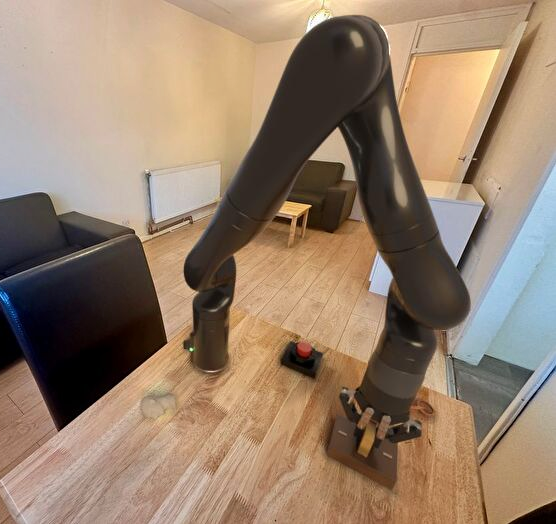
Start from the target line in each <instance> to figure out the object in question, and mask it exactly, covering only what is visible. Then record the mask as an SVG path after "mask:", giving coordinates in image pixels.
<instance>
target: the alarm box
mask: <svg viewBox="0 0 556 524" xmlns="http://www.w3.org/2000/svg"><path fill="white" fill-rule="evenodd" d="M300 342H301V341H298V342H297V341H296V342H294V341H292V340H290V341H289V343H288V344H287V346H286V348H285V351H284V353H283V355H282V356H281V359H280V365H281V366H284V367H286V368H287V369H290V370H293V371H295V372H297V373H299V374H302V375H304V376H307V377H309V378H311V379H314V380H315V379H316V376H317V374H318V372H319V368H320V366H321V362H322V360H323V357H324V352H321V351H318V350H316V349H315V347H313V346H312V345H311V344H309V345H310V346H311V348H312V349H311V354H310V355H309V356H308V357H303V356H301V355H299V354H298V353H297V351H296V350H297V345H298V343H300Z"/></svg>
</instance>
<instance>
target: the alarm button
mask: <svg viewBox="0 0 556 524" xmlns="http://www.w3.org/2000/svg"><path fill="white" fill-rule="evenodd" d="M299 342H300V343H298V345H297V350H296V351H297V353H298V354H299V355H301V356H303V357H308V356H309V355H310V354H311V349H312V348H311V346H312V345H311V344H309V343H307V342H306V341H305V342H304V341H299ZM310 345H311V346H310Z"/></svg>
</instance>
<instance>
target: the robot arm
mask: <svg viewBox="0 0 556 524" xmlns="http://www.w3.org/2000/svg"><path fill="white" fill-rule="evenodd" d="M390 50H391V47H390V41H389V37H388V34H387V32H386V29H384V27H383V26H382V25H381V24H380V22H378V21H377V20H375V19H374V18H372V17H370V16H367V15H364V14H345V15H338V16H332V17H330V18H327V19H324V20H323V21H320V22H319V23H318V24H316V25H314V26H313V27H312V28H311V29H309V30H308V31H307V32H306V33H305V34H304V35H303V36H302V37H301V39H300V40H299V41H298V42H297V43H296V46H295V47H294V49H293V50H292V52H291V54H290V56H289V57H288V60H287V62H286V64H285V67H284V69H283V71H282V74H281V76H280V79H279V81H278V84H277V85H276V86H277V87H276V89H275V91H274V94H273V97H272V99H271V102H270V104H269V106H268V108H267V110H266V113H265V116H264V119H263V121H262V123H261V126H260V127H259V130H258V132H257V134H256V136H255V138H254V140H253V141H252V143H251V145H250V146H249V148H248V150H247V152H246V153H245V155H244V156H243V158H242V160H241V161H240V164H239V165H238V167H237V169H236V171H235V173H234V174H233V176H232V177H231V179H230V181H229V183H228V184H227V187H226V188H225V190H224V192H223V194H222V196H221V197H220V200H219V203H218V205H217V207H216V209H215V211H214V213H213V215H212V216H211V218H210V220H209V221H208V223H207V225H206V227H205V229H204V231H203V232H202V234H201V236H200V237H199V239H198V240H197V241H196V243H195V244H194V245H193V247H192V248H191V249H190V250H189V252H188V254H187V256H186V257H185V259H184V263H183V279H184V281H185V283H186V285H187V286H188V287H189V289H191V290H192V291H194V292H197V293H196V294H195V295H194V297H193V298H192V303H191V305H192V306H191V307H192V330H191V332H190V333H189V338H188V339H185V340H184V341H183V343H182V347H183V350H188V351H189V355H190V359H189V360H190V362H192V363H193V365H194V368H195V369H196V370H197V371H199V372H201V373H203V374H207V375H215V374H219V373H221V372H223V371H224V370H225V369H226V368H227V366H228V363H229V362H228V361H229V360H230V357H229V337H230V320H231V319H230V318H231V317H230V315H231V307H232V304H233V302H234V298H235V292H236V291H235V290H236V283H237V261H236V259H235V254H236V253H238V252H239V251H241V250H243V249H244V248H245V247H247V246H248V245H249V244H251V243H252V242H253V241H254V240H256V239H257V238H258V237H259V236H260V235H261V234H263V232H264V231H266V229H267V227H269V225H270V224H271V223H272V221H273V220H274V219H275V217H276V216H277V215H278V214H279V212H280V211H281V209H282V208H283V206H284V204H285V203H286V201H287V199H288V197H289V195H290V193H291V191H292V190H293V187H294V185H295V183H296V180H297V178H298V176H299V174H300V173H301V171H302V170H303V168H304V167H305V165H306V164H307V162H308V161H309V160H310V159H311V158H312V156H313V155H314V154H315V153H316V152H317V151H318V149H319V148H320V147H321V146H322V145H323V144H324V143H325V141H326V140H327V139H328V138H329V137H330V136H331V135H332V134H333V132H334V131H336V129H338V130H339V132H340V134H341V137H342V139H343V141H344V143H345V145H346V148H347V151H348V154H349V156H350V160H351V165H352V169H353V174H354V180H355V185H356V189H357V190H356V191H357V196H358V202H359V207H360V210H361V213H362V217H363V220H364V222H365V226H366V228H367V230H368V233H369V234H370V237H371V240H372V242H373V244H374V246H375V248H376V251H377V253H378V254H379V256H380V258H381V260H382V262H384V264H385V265H386V267H387V269H389V271H390V273H391V276H392V278H391V280H390V283H389V286H388V290H387V295H386V302H385V310H384V311H385V312H384V324H383V328H382V330H381V332H380V334H379V338H378V340H377V343H376V346H375V348H374V350H373V351H372V353H371V354H370V357H369V359H368V361H367V366H366V368H365V371H364V373H363V377H362V380H361V382H360V385H359V386H358V387H356V388H355V389H354V390H350V389H349V388H348V386H342V387H341V389H340V391H339V395H338V399H339V401H340V404H341V406H342V408H343V411H344V413H345V417H346V418H348V420H349V421H351V422H355V423H356V427H355V430H354V436H355V437H356V440H357V441H358V442H360V441H361V438H362V436H363V433H364V431H365V426H366V425H367V424H368V422H369V420H370V419H373V420H375V421H377V422H378V423H377V427H376V432H375V438H374V442H373V444H372V446H371V449H374V447H375V448H379V446H380V444H381V442H382V440H383V439H389V441H390V442H391V443H394V444H395V443H398V444H399V443H402V442H407V441H410V440H414V439H418V438H421V437H422V432H423V424H422V421H420V420H419V419H413V418H412V416H411V409H410V408H411V406H413V404H414V403H415V400H416V398H417V396H418V394H419V391H420V389H421V388H422V385H423V384H424V381H425V378H426V373H427V370H428V368H429V366H430V364H431V361H432V360H433V357H434V356H435V354H436V352H437V348H438V337H437V334H436V331H447V330H451V329H455V328H456V327H458V326H459V325H461V324H462V323H464V321H466V319H467V318H468V316H469V314H470V312H471V306H472V301H471V295H470V292H469V289H468V287H467V285H466V283H465V281H464V279H463V277H462V275H461V273H460V271H459V270H458V268H457V266H456V264H455V263H454V261H453V258H452V257H451V255H450V254H449V253H448V251H447V249H446V247H445V245H444V243H443V240H442V237H441V232H440V229H439V227H438V223H437V220H436V218H435V215H434V212H433V210H432V207H431V204H430V201H429V199H428V196H427V193H426V191H425V189H424V185H423V183H422V181H421V177H420V175H419V172H418V170H417V167H416V165H415V161H414V159H413V156H412V154H411V150H410V148H409V147H410V146H409V144H408V141H407V138H406V135H405V134H406V133H405V131H404V127H403V123H402V119H401V115H400V111H399V110H400V109H399V106H398V101H397V96H396V95H397V94H396V89H395V81H394V74H393V67H392V59H391V53H390V52H391V51H390ZM354 399H355V401H356V403H357V405H358V407H359V409H360V411H361V412H360V413H359V412H358V409H357V407H356V404H355V402H354ZM390 426H391V427H390Z"/></svg>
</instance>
